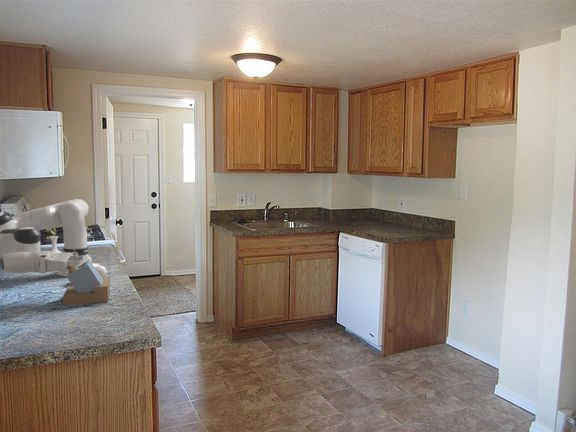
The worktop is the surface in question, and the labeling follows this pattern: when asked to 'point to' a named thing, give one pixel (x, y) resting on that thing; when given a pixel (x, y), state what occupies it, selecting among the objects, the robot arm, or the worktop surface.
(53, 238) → the flower in vase
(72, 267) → the peg
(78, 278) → the socket
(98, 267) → the lightbulb
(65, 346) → the worktop surface
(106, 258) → the worktop surface
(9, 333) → the worktop surface
